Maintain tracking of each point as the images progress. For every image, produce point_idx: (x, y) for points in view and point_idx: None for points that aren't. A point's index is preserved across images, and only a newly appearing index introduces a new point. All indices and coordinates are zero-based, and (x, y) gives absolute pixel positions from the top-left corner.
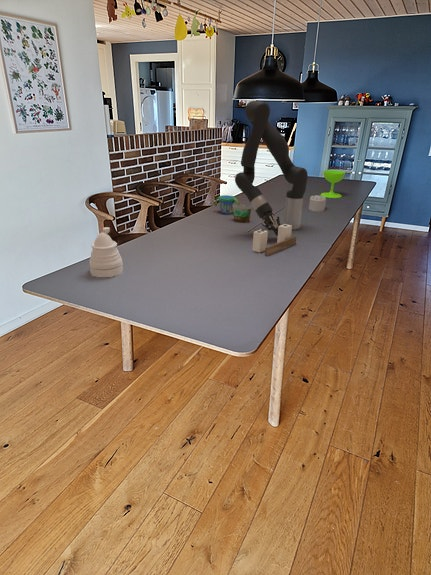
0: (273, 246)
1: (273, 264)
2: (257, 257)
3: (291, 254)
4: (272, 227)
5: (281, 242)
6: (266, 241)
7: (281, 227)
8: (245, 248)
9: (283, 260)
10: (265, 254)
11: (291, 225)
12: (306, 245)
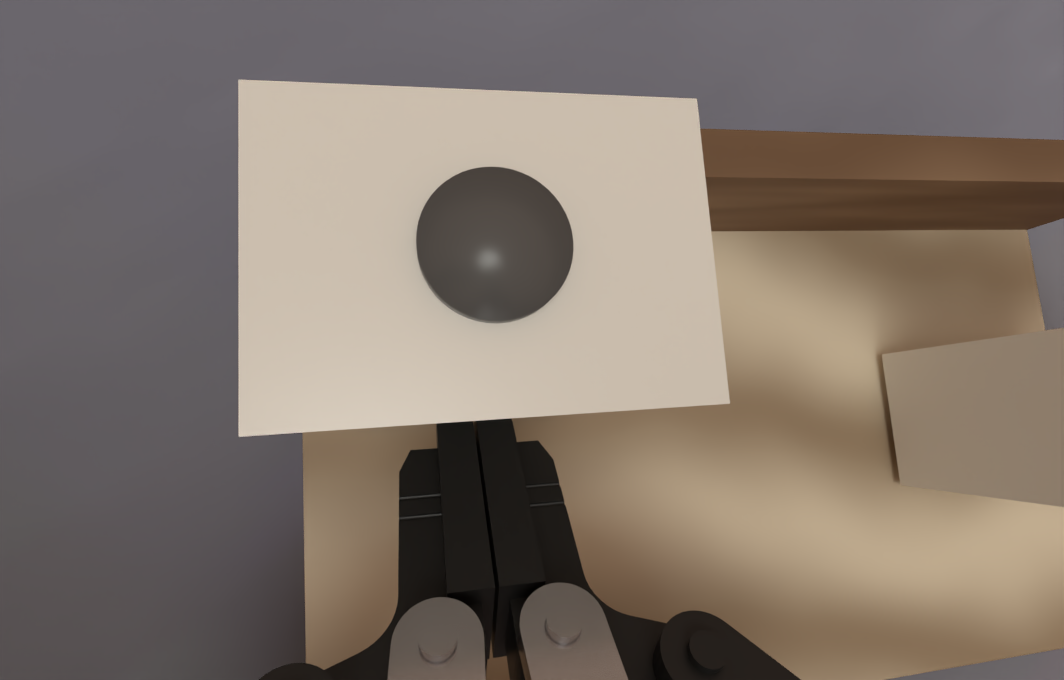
0: (1028, 143)
1: (1043, 61)
2: (1049, 316)
3: (655, 70)
4: (735, 632)
5: (815, 141)
6: (1031, 335)
7: (701, 277)
8: (970, 673)
9: (883, 41)
10: (1048, 218)
11: (247, 101)
12: (109, 97)
